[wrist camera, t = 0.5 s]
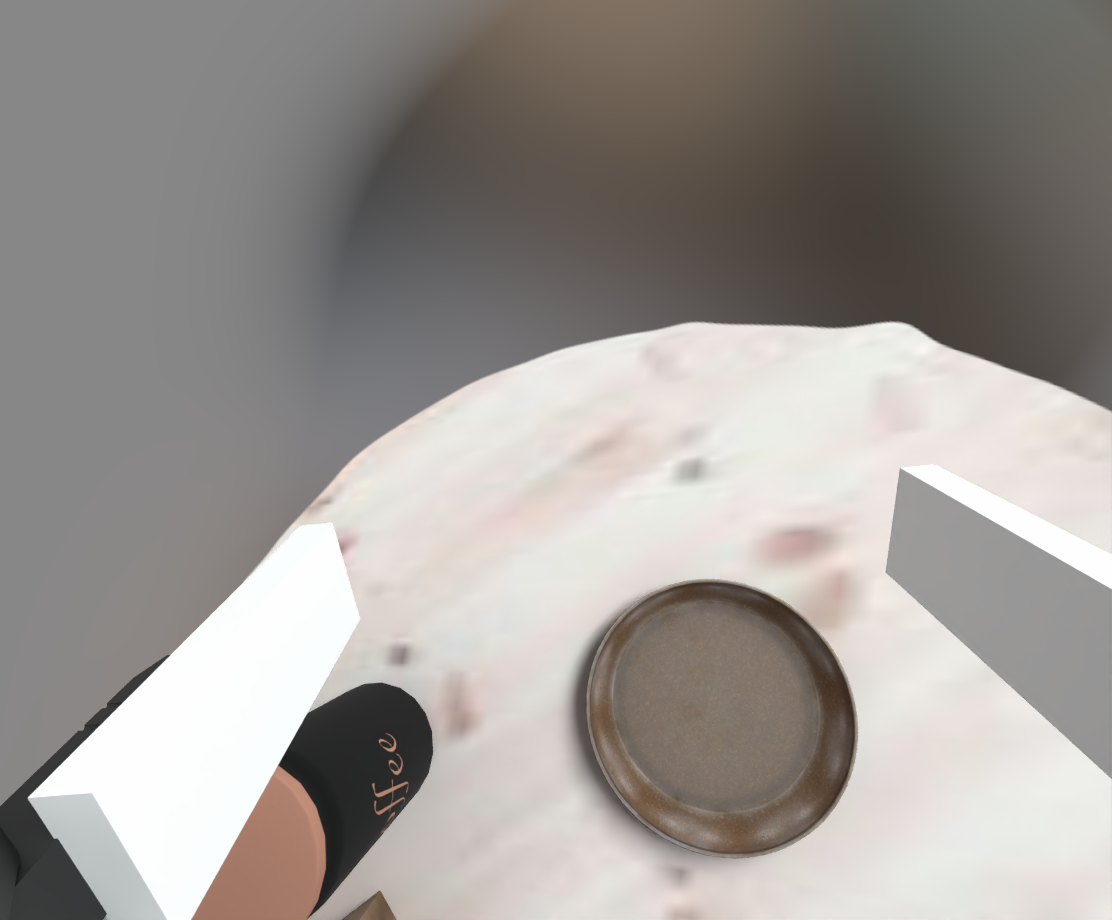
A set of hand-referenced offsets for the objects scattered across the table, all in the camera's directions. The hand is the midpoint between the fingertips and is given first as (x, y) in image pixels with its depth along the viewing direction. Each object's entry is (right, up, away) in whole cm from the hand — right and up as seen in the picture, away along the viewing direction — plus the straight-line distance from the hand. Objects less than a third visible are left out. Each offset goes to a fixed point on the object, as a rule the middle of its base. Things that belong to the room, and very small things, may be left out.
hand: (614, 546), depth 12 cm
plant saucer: (+12, -18, +31) cm, 38 cm away
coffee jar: (-17, -24, +35) cm, 45 cm away
